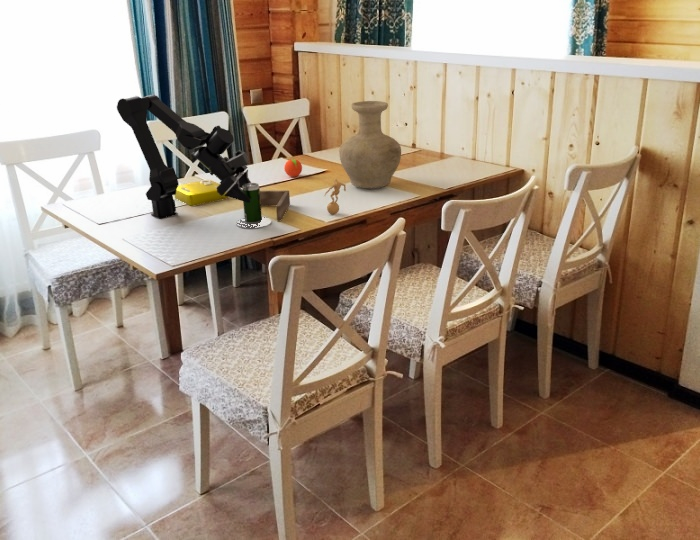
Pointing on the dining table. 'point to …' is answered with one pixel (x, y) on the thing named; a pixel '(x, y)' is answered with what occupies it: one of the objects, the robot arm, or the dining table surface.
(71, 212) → the dining table surface
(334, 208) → the figurine
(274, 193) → the corner niche
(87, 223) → the dining table surface
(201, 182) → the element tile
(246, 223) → the coaster
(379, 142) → the vase
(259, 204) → the beer can
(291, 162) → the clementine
